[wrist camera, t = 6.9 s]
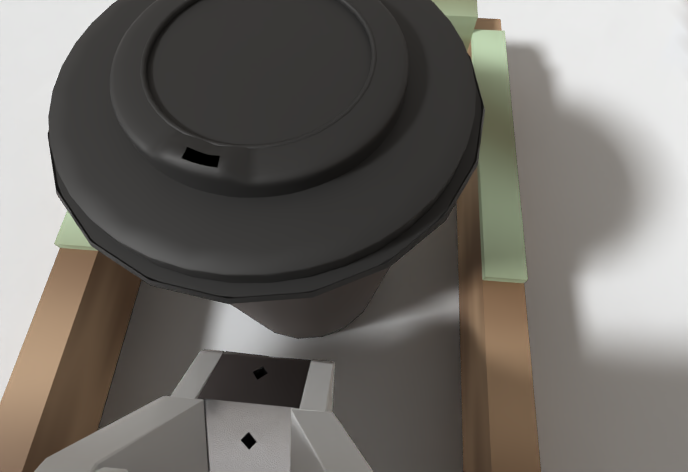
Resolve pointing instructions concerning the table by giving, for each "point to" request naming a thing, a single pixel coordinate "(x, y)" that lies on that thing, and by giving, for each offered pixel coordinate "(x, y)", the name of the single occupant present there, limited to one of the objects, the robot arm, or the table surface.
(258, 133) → the coffee cup
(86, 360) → the trap box
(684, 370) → the table surface
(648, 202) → the table surface
